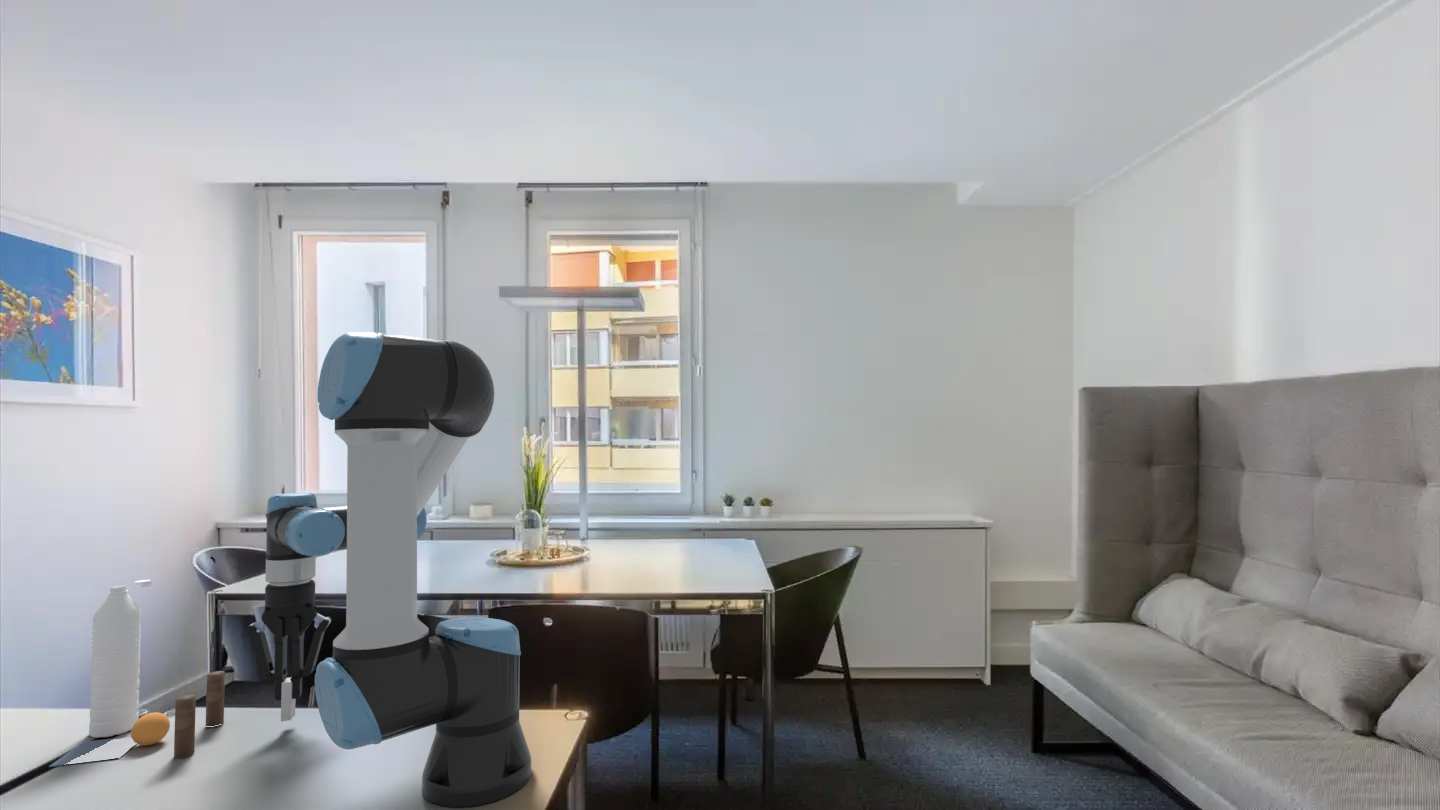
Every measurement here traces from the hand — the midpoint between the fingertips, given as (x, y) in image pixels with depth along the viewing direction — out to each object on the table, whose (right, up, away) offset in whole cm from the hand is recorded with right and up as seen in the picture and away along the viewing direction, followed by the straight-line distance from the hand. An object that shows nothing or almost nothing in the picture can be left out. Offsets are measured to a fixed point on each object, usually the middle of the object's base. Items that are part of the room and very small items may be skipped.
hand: (288, 717), depth 120 cm
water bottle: (-30, -3, +1) cm, 30 cm away
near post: (-11, -2, -10) cm, 14 cm away
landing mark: (-26, -2, -8) cm, 27 cm away
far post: (-14, -2, +2) cm, 14 cm away
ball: (-19, +1, -6) cm, 20 cm away
